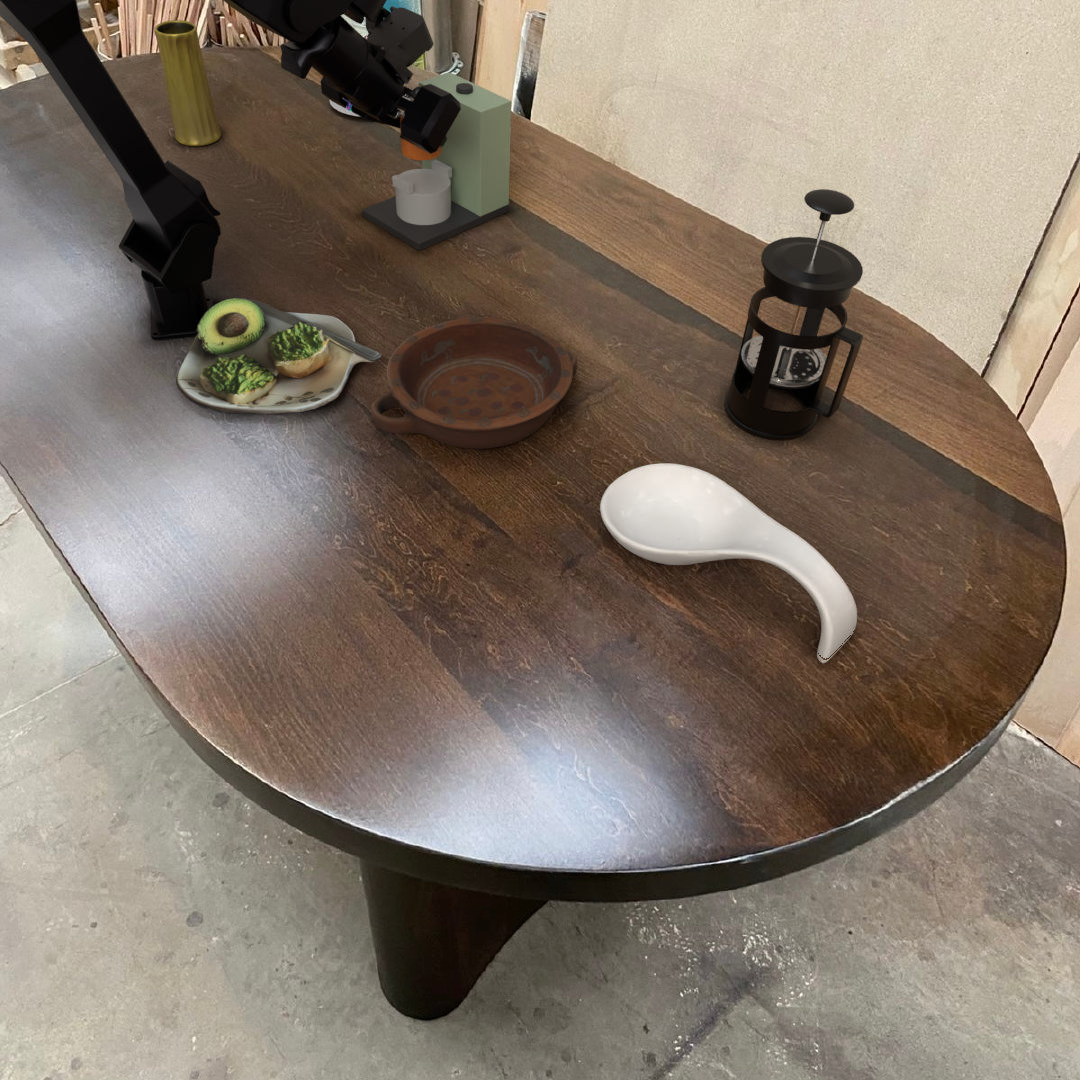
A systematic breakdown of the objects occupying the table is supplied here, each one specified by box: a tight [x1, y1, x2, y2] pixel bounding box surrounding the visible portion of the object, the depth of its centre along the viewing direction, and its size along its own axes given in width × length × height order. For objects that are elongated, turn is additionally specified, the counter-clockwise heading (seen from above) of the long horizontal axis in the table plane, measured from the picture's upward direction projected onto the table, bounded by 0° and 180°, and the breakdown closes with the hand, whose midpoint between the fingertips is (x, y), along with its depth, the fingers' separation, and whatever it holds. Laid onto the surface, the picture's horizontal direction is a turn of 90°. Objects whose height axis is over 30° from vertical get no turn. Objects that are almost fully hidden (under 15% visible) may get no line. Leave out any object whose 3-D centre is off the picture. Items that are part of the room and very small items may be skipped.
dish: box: [370, 316, 578, 450], centre depth 94 cm, size 18×22×5 cm
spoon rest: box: [599, 462, 858, 664], centre depth 80 cm, size 24×12×7 cm, turn 48°
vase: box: [153, 19, 222, 147], centre depth 129 cm, size 6×6×14 cm
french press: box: [723, 188, 864, 441], centre depth 89 cm, size 12×9×23 cm
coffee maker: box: [361, 72, 512, 252], centre depth 117 cm, size 15×11×15 cm
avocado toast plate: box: [175, 297, 382, 415], centre depth 97 cm, size 19×18×5 cm
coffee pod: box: [397, 108, 442, 161], centre depth 113 cm, size 5×5×5 cm
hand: (430, 135), depth 114 cm, fingers closed on coffee pod, 5 cm apart
